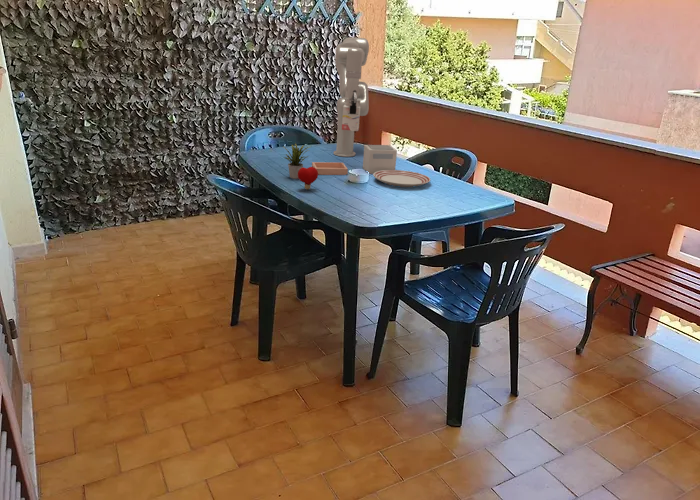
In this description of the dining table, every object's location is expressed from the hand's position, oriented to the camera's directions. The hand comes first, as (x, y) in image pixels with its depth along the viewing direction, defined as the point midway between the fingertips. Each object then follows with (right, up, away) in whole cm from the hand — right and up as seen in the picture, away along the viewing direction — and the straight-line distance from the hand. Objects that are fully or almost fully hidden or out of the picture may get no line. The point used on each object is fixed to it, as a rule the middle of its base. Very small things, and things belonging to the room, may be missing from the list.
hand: (351, 112), depth 269 cm
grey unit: (+14, -29, +6) cm, 32 cm away
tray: (-11, -30, -1) cm, 32 cm away
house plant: (-25, -35, -16) cm, 46 cm away
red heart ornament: (-19, -43, -33) cm, 57 cm away
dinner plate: (+24, -37, -12) cm, 46 cm away
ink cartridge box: (0, -8, +3) cm, 9 cm away
